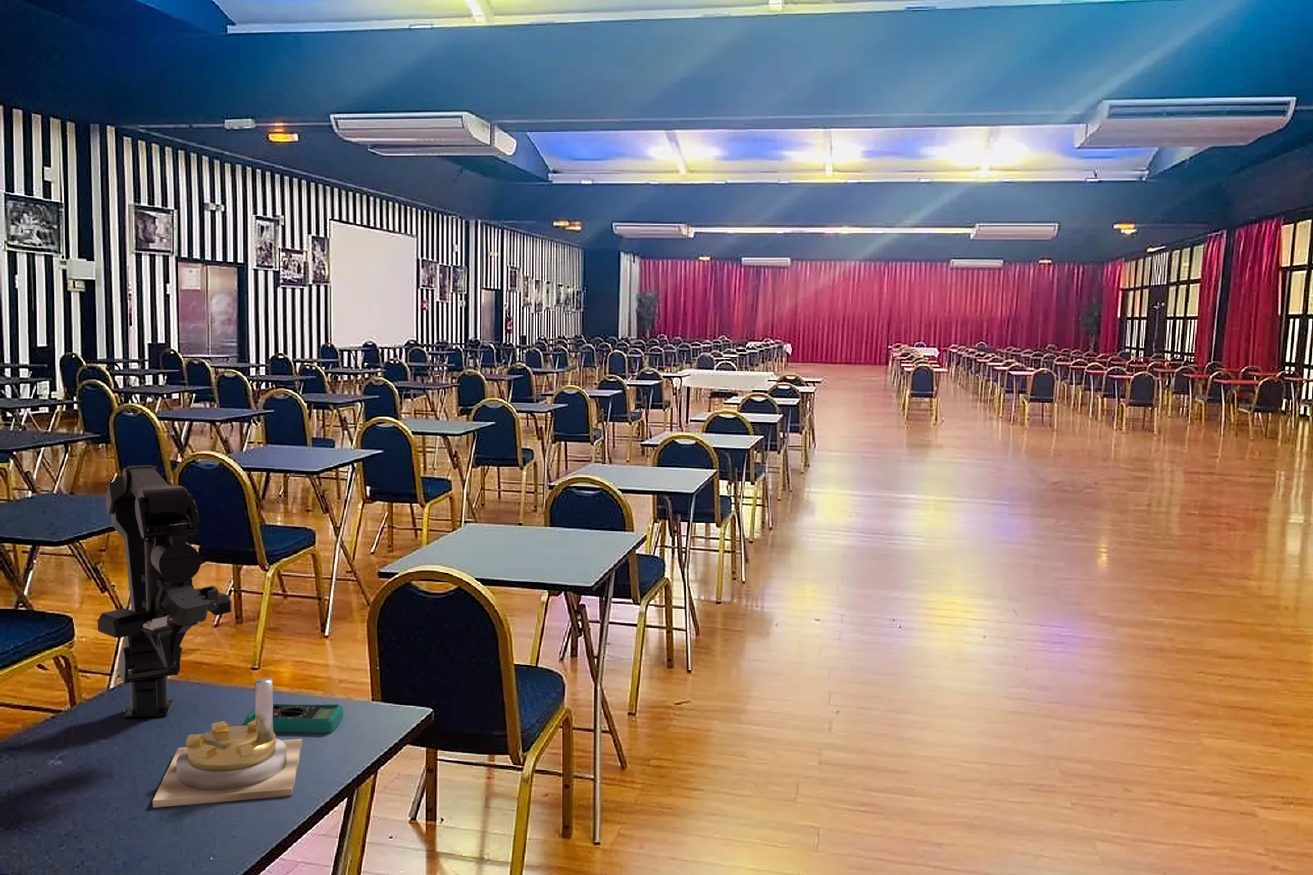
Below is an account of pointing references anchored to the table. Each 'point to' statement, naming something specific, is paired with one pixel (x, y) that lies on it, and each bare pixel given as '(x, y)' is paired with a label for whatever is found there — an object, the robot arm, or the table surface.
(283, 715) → the digital multimeter
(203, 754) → the round base with post
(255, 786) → the cap housing
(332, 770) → the table surface
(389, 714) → the table surface
